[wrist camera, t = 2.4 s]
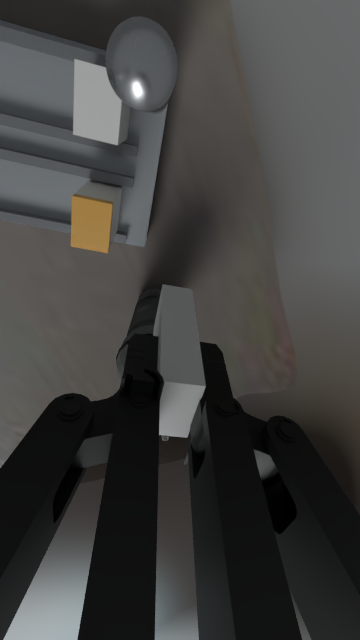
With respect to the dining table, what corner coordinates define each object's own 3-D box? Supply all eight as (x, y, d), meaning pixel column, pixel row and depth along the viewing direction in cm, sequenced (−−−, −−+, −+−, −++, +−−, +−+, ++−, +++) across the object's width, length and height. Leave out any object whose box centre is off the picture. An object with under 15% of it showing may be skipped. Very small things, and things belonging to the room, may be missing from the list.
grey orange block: (87, 222, 30) (70, 246, 25) (89, 180, 28) (71, 195, 22) (117, 228, 31) (107, 253, 25) (122, 187, 29) (112, 204, 23)
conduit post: (137, 109, 25) (102, 100, 10) (141, 74, 24) (108, 5, 9) (165, 117, 26) (170, 118, 11) (171, 82, 24) (185, 29, 10)
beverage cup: (131, 273, 37) (106, 400, 20) (188, 284, 38) (208, 412, 22) (123, 321, 41) (98, 460, 24) (176, 329, 42) (185, 467, 26)
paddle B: (92, 130, 26) (73, 134, 20) (95, 72, 24) (74, 58, 18) (127, 139, 26) (117, 145, 21) (133, 83, 24) (124, 72, 19)
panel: (-44, 200, 31) (-69, 210, 28) (-81, 2, 23) (-121, -17, 20) (146, 237, 35) (144, 250, 31) (172, 74, 26) (173, 68, 23)
